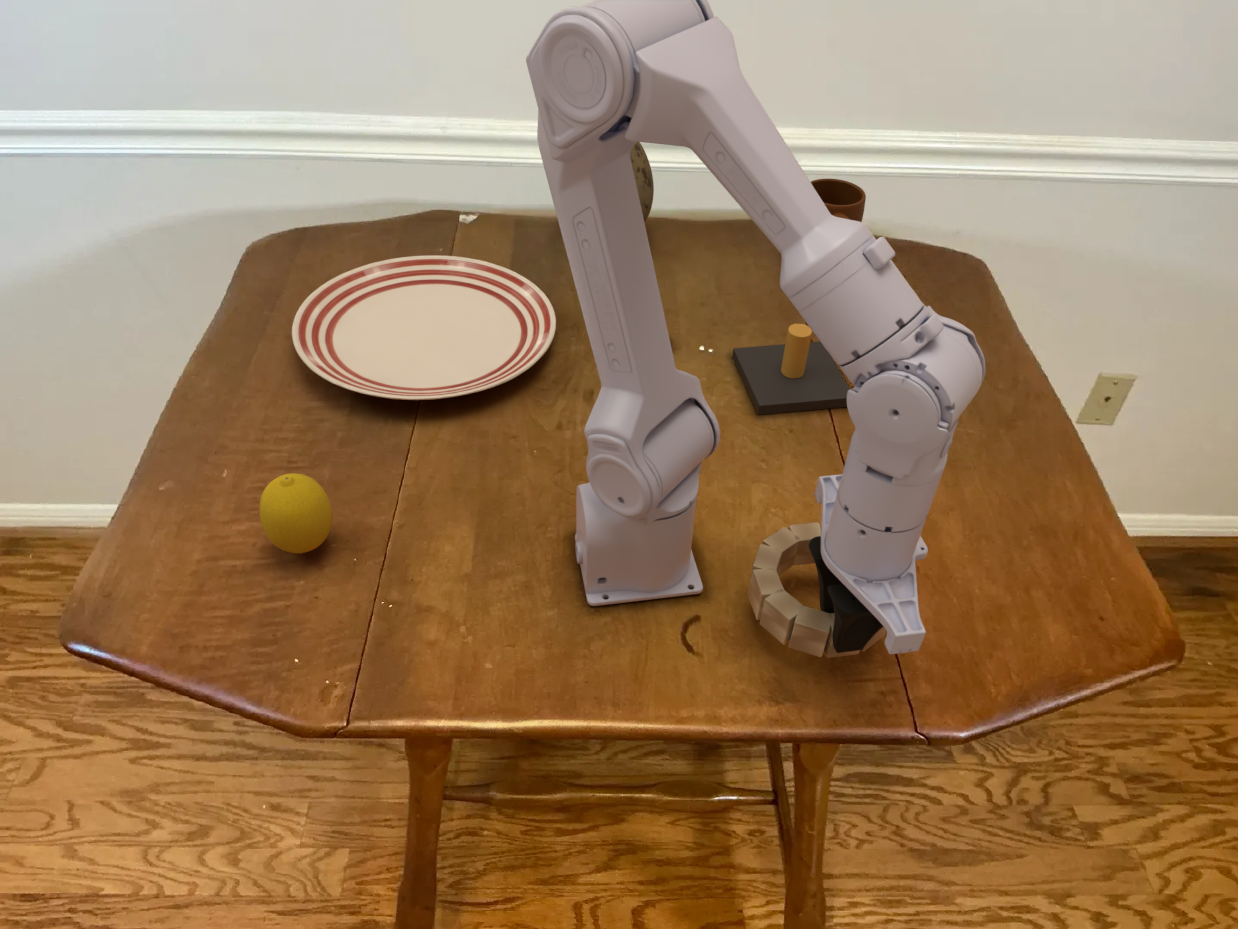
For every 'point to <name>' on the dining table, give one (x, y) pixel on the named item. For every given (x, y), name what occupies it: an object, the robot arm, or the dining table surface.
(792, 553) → the ring
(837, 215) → the mug
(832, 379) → the peg stand
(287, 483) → the lemon
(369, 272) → the dinner plate
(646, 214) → the decorative egg
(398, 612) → the dining table surface
